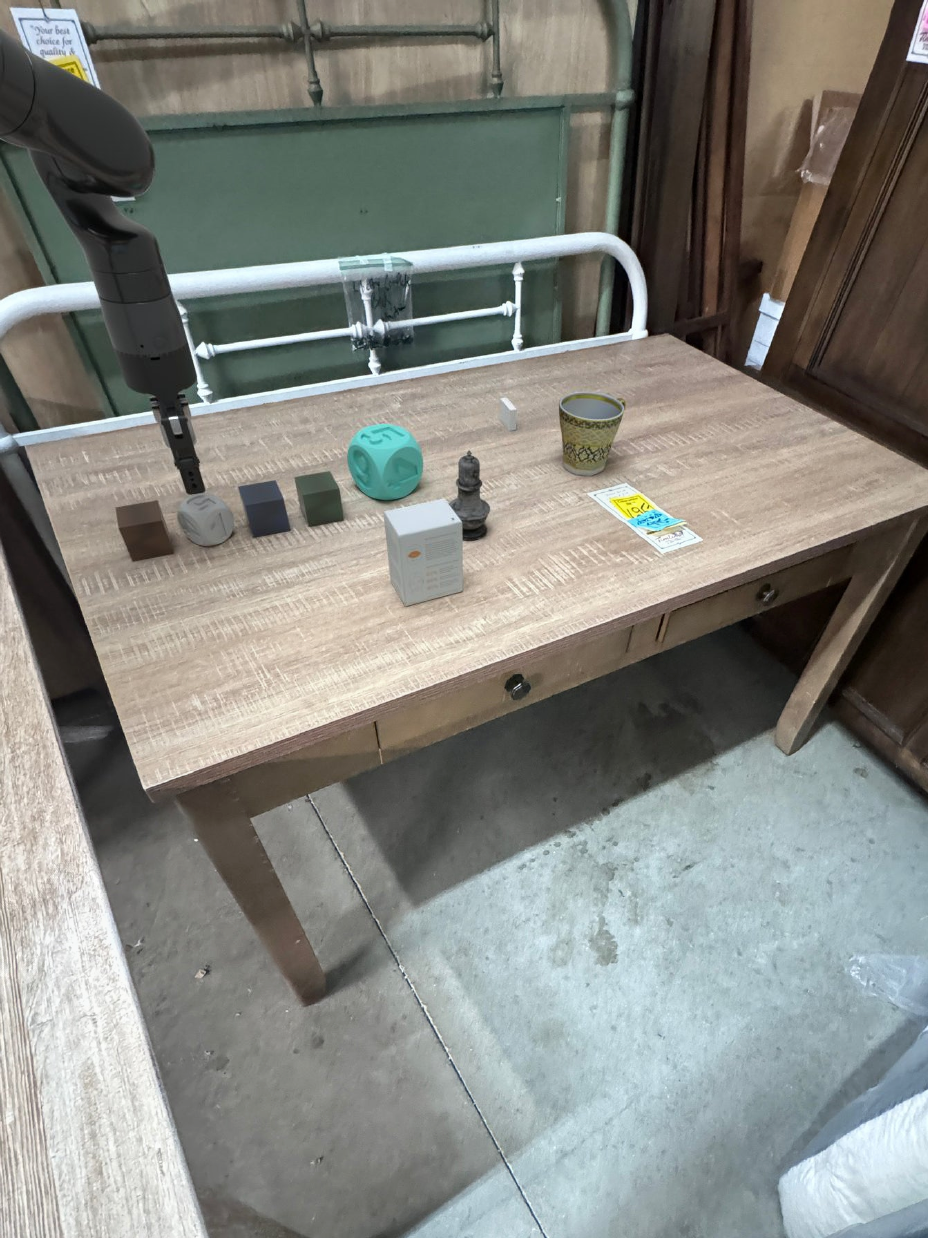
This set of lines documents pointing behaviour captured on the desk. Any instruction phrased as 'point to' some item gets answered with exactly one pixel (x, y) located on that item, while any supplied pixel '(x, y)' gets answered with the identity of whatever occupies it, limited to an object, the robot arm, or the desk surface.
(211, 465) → the desk surface
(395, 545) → the small box
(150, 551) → the row of mixed cubes
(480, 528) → the black chess piece
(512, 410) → the eraser
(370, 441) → the decorative dice
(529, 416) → the desk surface
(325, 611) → the desk surface
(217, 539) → the die
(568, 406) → the ceramic cup
